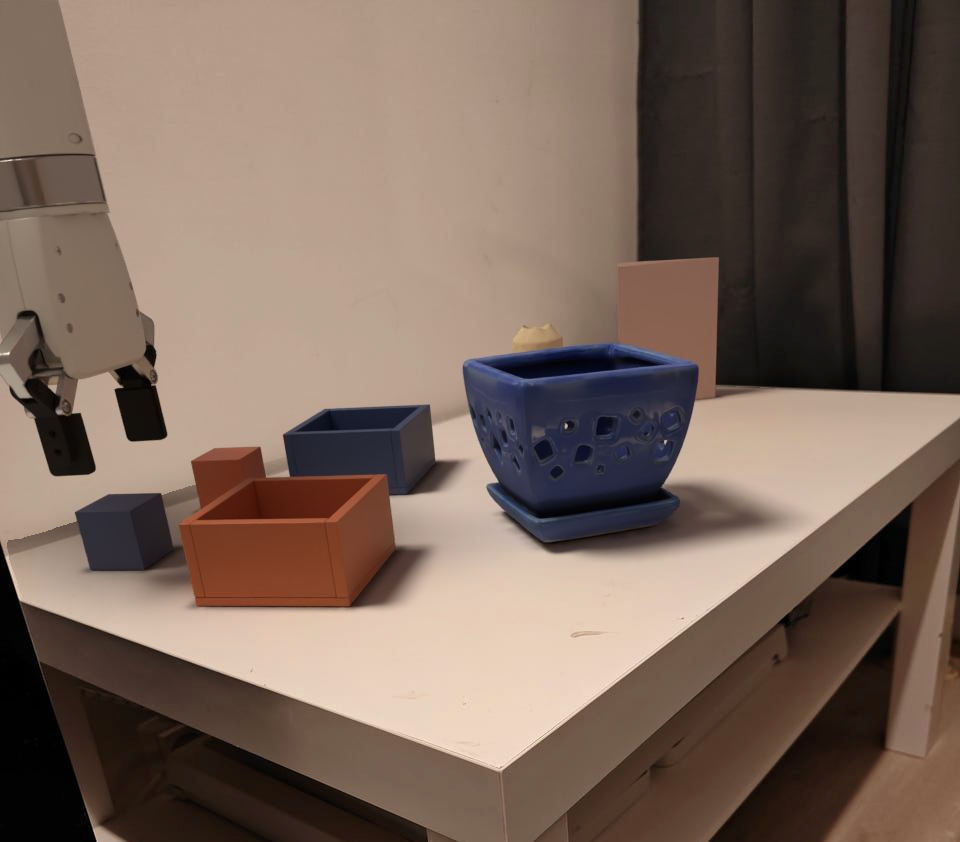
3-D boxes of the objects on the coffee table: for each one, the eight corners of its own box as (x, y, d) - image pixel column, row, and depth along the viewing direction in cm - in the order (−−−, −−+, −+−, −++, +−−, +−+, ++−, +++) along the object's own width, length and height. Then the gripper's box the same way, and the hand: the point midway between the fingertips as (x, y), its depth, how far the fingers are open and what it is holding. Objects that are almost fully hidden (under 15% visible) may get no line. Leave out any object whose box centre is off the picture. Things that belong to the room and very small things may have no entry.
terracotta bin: (196, 606, 61) (177, 524, 59) (261, 550, 70) (247, 477, 68) (350, 606, 59) (337, 521, 56) (396, 549, 68) (386, 474, 66)
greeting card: (716, 395, 108) (720, 256, 102) (702, 409, 102) (705, 262, 96) (621, 395, 113) (619, 262, 107) (602, 408, 107) (599, 268, 101)
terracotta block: (201, 511, 81) (190, 461, 79) (223, 496, 85) (213, 447, 83) (249, 511, 80) (239, 459, 78) (269, 495, 84) (260, 446, 82)
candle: (566, 410, 107) (562, 319, 103) (565, 421, 102) (561, 326, 98) (518, 413, 108) (512, 323, 104) (515, 424, 103) (509, 329, 99)
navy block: (89, 570, 69) (74, 512, 67) (122, 549, 73) (108, 493, 71) (144, 570, 68) (130, 511, 66) (174, 548, 72) (161, 492, 70)
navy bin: (292, 496, 83) (282, 434, 81) (332, 465, 93) (324, 408, 90) (407, 494, 81) (399, 430, 79) (435, 462, 90) (430, 404, 88)
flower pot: (620, 485, 78) (618, 337, 73) (701, 529, 67) (705, 357, 62) (469, 511, 75) (456, 358, 70) (527, 561, 63) (516, 382, 58)
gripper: (70, 199, 69) (130, 431, 76) (-106, 202, 53) (-11, 493, 60) (162, 188, 67) (214, 426, 74) (7, 187, 52) (92, 488, 59)
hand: (113, 456), depth 67 cm, fingers open, 9 cm apart
